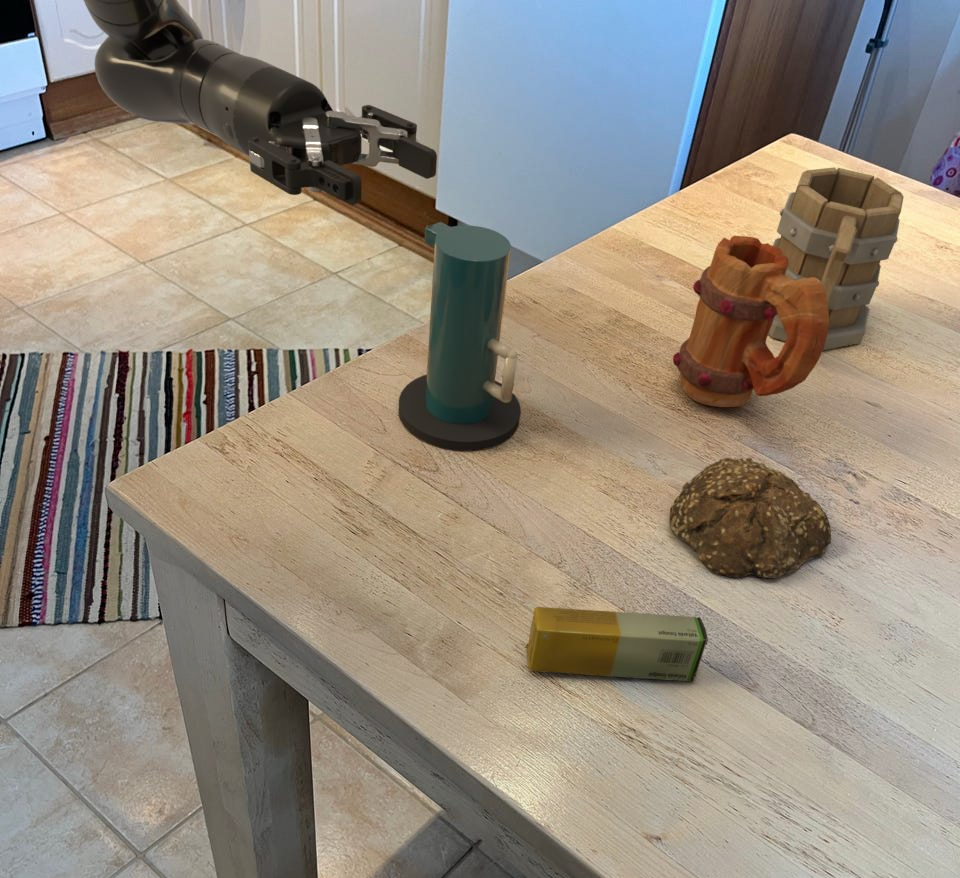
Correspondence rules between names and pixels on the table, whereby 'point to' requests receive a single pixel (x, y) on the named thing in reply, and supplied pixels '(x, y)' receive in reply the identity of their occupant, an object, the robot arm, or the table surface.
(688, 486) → the bread roll
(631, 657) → the medication box
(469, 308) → the jug
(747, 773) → the table surface
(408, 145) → the robot arm
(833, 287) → the tankard
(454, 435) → the disc
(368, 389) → the table surface
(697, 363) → the mug
